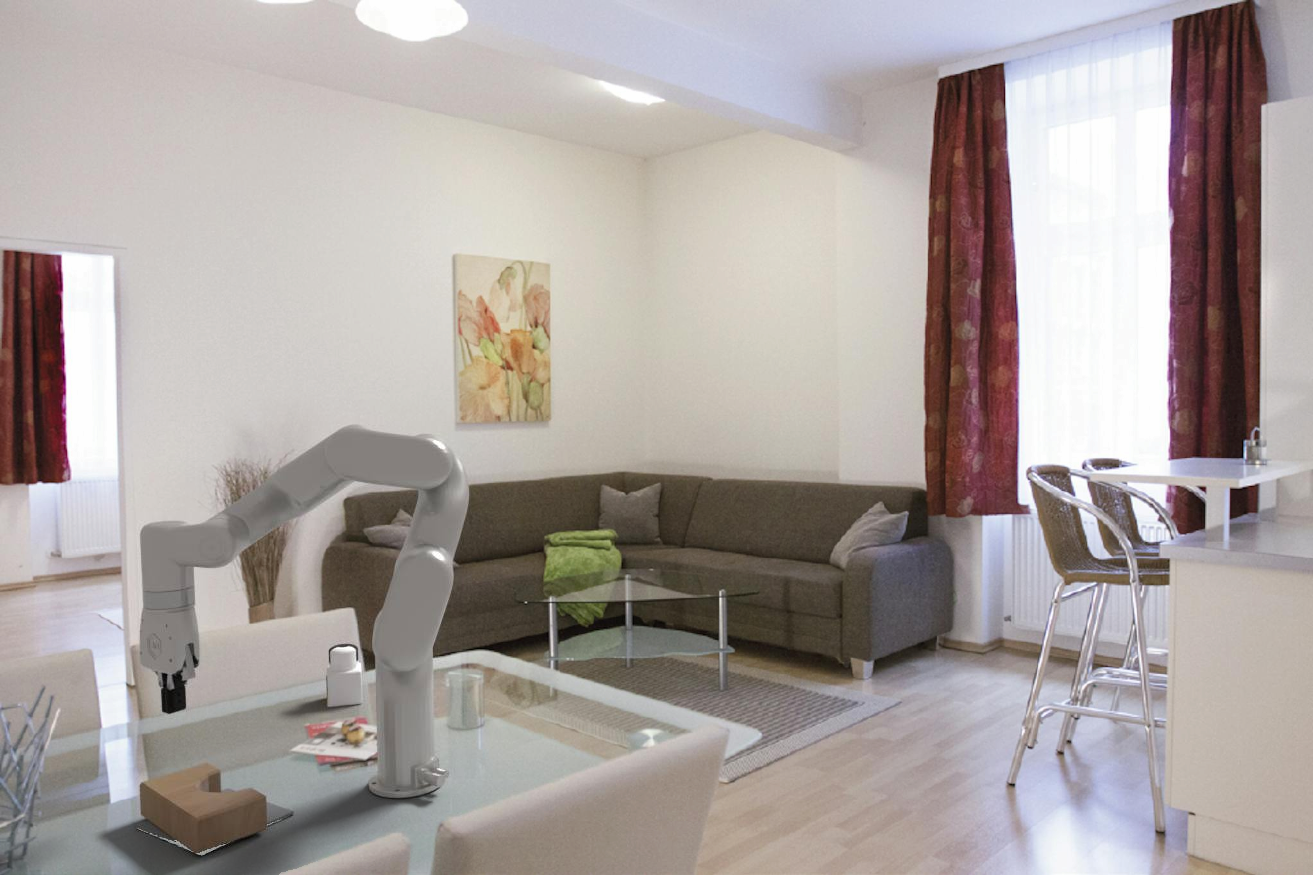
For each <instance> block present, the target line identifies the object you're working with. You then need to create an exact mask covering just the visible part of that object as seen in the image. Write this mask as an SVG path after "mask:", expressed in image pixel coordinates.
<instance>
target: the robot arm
mask: <svg viewBox="0 0 1313 875" xmlns="http://www.w3.org/2000/svg"><path fill="white" fill-rule="evenodd" d="M355 482H357V483H364V484H370V485H377V486H386V487H394V488H403V489H412V490H418V492H417V493H418V494H417V496H418V497H417V503H416V506H415V509H414V512H413V513H412V515H413V516H412V519H411V523H410V526H409V529H408V531H407V535H406V538H405V540H404V543H403V546H402V548H401V551H400V552H399V554H398V557H397V559H396V561H395V563H394V564H395V565H394V570H393V575H392V578H391V581H390V584H389V588H388V591H387V593H386V597H385V600H384V603H383V607H382V608H381V610H380V611H379V613H378V614H377V616H376V618H375V621H374V625H373V632H372V641H371V642H372V643H371V644H372V645H371V646H372V647H371V648H372V652H373V654H374V660H375V662H374V663H375V664H374V665H375V709H376V710H375V711H376V712H375V713H376V718H375V719H376V743H377V744H376V745H377V746H376V748H377V749H376V750H377V771H376V772H375V773H373V774H372V775H371V776H370V778H369V779H368V789H369V790H370V792H372V793H373V794H374V795H377V796H379V797H383V798H388V799H404V798H405V799H407V798H414V797H418V796H422V795H426V794H428V793H432V792H433V791H435V790H437V789H438V788H441V787H443V785H444V784H445V782H446V780H447V779H448V778H449V776H450V771H449V770H448V769H444V768H442V767H440V757H437V756H436V754H435V753H436V752H435V750H436V749H435V745H436V743H435V713H434V712H435V711H434V710H435V709H434V703H435V702H434V693H435V692H434V691H435V690H434V687H435V686H434V651H433V650H434V644H435V641H436V638H437V635H438V634H439V630H440V627H441V623H442V620H443V617H444V614H445V612H446V609H447V606H448V603H449V601H450V600H449V599H450V596H451V593H452V590H453V584H454V578H455V577H454V576H455V575H454V567H453V566H454V564H453V563H454V558H455V554H456V551H457V547H458V544H459V542H460V538H461V534H462V531H463V528H464V523H465V520H466V517H467V512H468V507H469V501H470V485H469V480H468V475H467V472H466V469H465V466H464V465H463V461H461V459H460V458H459V455H457V453H456V452H455V451H454V449H453V448H452V447H451V446H450V445H449V444H448V443H446V441H445V440H443V439H442V438H441V437H439V436H436V435H434V434H432V433H420V434H416V435H409V434H408V435H407V434H400V433H390V432H383V431H379V430H372V429H370V428H368V427H367V426H364V425H362V424H354V423H353V424H348V425H346V426H343V427H340V428H339V429H338V430H336V431H335V432H333V433H331V434H330V435H329V436H327V437H325V438H324V439H323V440H321V441H319V442H318V443H317V444H315V445H314V446H311V448H309V449H308V450H306V451H305V452H303V453H301V454H300V455H299V456H297V457H296V458H294V459H292V460H291V461H290V462H289V461H288V463H286V464H285V465H283V466H281V467H280V468H279V469H277V470H276V471H274V472H273V473H272V474H271V475H270V476H268V478H267V479H266V480H264V482H262V483H261V484H260V485H258V486H257V487H255V488H254V489H253V490H251V491H250V492H248V493H247V494H245V495H244V496H243V497H241V498H240V499H238V500H237V501H235V502H234V503H231V504H230V505H229V506H227V507H226V508H224V509H222V510H221V511H219V512H218V513H217V514H215V515H213V516H212V517H210V518H208V519H207V520H206V521H204V522H200V523H195V524H190V523H189V522H187V521H184V520H162V521H156V522H155V521H153V522H150V523H146V524H145V525H144V526H143V527H142V528H141V529H140V533H139V540H140V543H139V544H140V546H139V547H140V565H141V566H140V567H141V585H142V586H141V587H142V590H141V591H142V610H141V613H140V614H141V616H140V625H139V663H140V665H141V666H143V668H146V669H147V670H151V671H152V672H153V673H155V674H156V676H157V682H158V683H157V684H158V686H159V688H160V696H161V698H160V699H161V700H160V701H161V712H162V713H165V714H167V715H171V714H175V713H177V712H181V711H184V710H185V709H186V708H187V694H186V693H187V692H186V686H187V685H188V681H189V680H191V679H195V678H196V670H195V669H196V668H198V667H199V666H200V663H201V642H200V633H199V625H198V620H197V619H198V618H197V613H196V607H195V606H196V588H195V587H196V586H195V585H196V584H195V568H200V569H201V568H202V569H218V568H222V567H225V566H228V565H229V564H231V563H232V562H234V560H236V558H237V557H238V556H239V555H240V554H241V553H242V552H244V551H245V550H246V549H248V548H249V547H251V545H253V544H254V543H256V542H258V541H259V540H261V539H262V538H263V537H265V536H266V535H268V534H270V533H271V532H272V531H274V530H276V529H277V528H279V527H280V526H282V525H283V524H285V523H287V522H289V521H291V520H293V519H296V518H300V517H303V516H305V515H306V514H308V513H310V512H311V511H313V510H314V509H316V508H318V506H320V505H322V504H324V503H325V502H326V501H328V500H329V499H330V498H332V497H334V496H335V495H336V494H338V493H339V492H341V491H343V490H344V489H345V488H347V487H349V486H351V485H352V484H353V483H355Z"/></svg>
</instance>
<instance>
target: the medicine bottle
mask: <svg viewBox="0 0 1313 875" xmlns="http://www.w3.org/2000/svg"><path fill="white" fill-rule="evenodd" d="M325 672H326V676H325V677H326V678H325V680H326V681H325V683H326V707H327V708H334V707H335V708H337V707H343V706H344V707H346V706H352V705H353V706H354V705H362V704H363V677H362V676H363V675H362V663H361V662H359V647H358V646H357V645H355V644H353V643H340V644H336V645H333V646H332V647H330V648H329V649H328V665H327V666H326V670H325Z"/></svg>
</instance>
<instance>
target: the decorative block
mask: <svg viewBox="0 0 1313 875" xmlns="http://www.w3.org/2000/svg"><path fill="white" fill-rule="evenodd" d="M221 791H222V774H221V769H220V768H217V767H215V766H214V765H212V764H210V763H209V762H205V763H202V764H198V765H195V766H192V767H188V768H185V769H181V770H179V771H175V772H172V773H168V774H164V775H161V776H158V777H155V778H152V779H148V780H144V781H142V782H140V784H139V805H140V807H139V809H140V815H141V816H142V817H143V818H145V819H146V820H149V821H150V822H152V823H153V824H155V825H156V826H157V827H159V828H160V829H162V830H163V831H164V832H166V833H167V834H169V835H170V836H171V837H173V838H174V839H176V840H177V841H179V842H180V843H181V844H183V845H184V846H186V847H187V848H188V849H190V850H191V851H193V852H194V853H200V852H202V851H205V850H207V849H211V848H213V847H217V846H219V845H223V844H227V843H229V842H232V843H234V842H233V841H235V840H237V841H239V840H242V839H244V838H247V837H250V836H253V835H256V834H258V833H261V832H263V831H265V830H267V828H268V827H267V804H266V802H267V796H266V795H264V793H262V792H260V791H258V790H256V789H255V788H252V787H247V788H244V789H238V790H235V791H233V792H222V793H221ZM241 838H242V839H241ZM238 839H239V840H238ZM235 842H236V841H235ZM194 853H193V854H194Z"/></svg>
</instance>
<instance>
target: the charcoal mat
mask: <svg viewBox="0 0 1313 875" xmlns="http://www.w3.org/2000/svg"><path fill="white" fill-rule="evenodd" d="M233 791H236V790H234V789H231V788H229V787H228V788H227V787H226V788H225V789H221V793H222V792H233ZM266 804H267V824H270V823H272V822H275V821H277V820H280V819H284V818H286V817H288V818H290V817H291V816H290V815H292V816H294V815H293V814H294V813H295V812H294V810H291V809H289V808H286V807H282V806H280V805H276V804H275V803H271V802H268V801H266ZM289 816H290V817H289ZM286 819H287V818H286ZM284 820H285V819H284ZM135 827H136V828H139V829H141V830H143V831H146V832H148V833H152V834H153V835H157V836H158V837H162V838H166V839H168V840H172V841H174V840H176V839H174V838H173V837H171V836H170V835H169V834H167V833H166V832H164V831H163V830H162V829H160V828H159V827H157V826H156V825H155V824H153V823H152V822H150V821H149V820H148V819H146V820H144V821H142V822H139V823H137V824H134V828H135ZM174 842H176V841H174Z"/></svg>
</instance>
